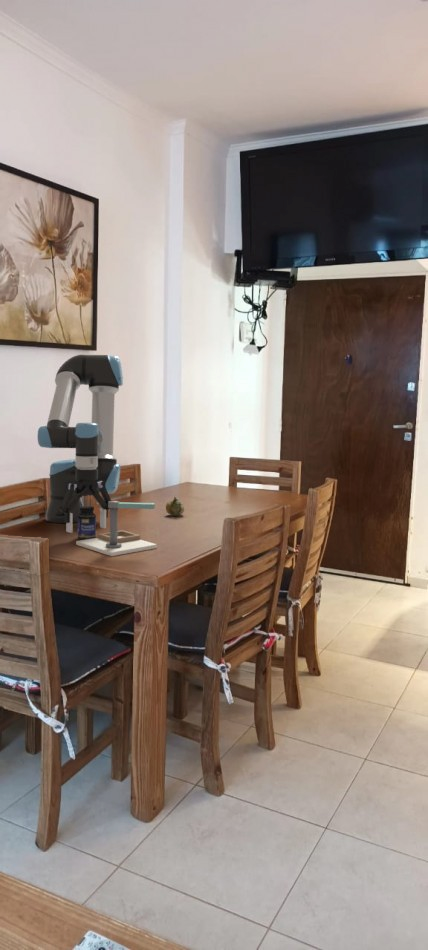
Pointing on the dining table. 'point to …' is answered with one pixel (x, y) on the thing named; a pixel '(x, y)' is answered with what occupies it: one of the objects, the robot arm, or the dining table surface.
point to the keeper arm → (130, 505)
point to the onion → (175, 507)
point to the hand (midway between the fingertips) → (86, 529)
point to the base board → (116, 551)
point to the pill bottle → (86, 523)
